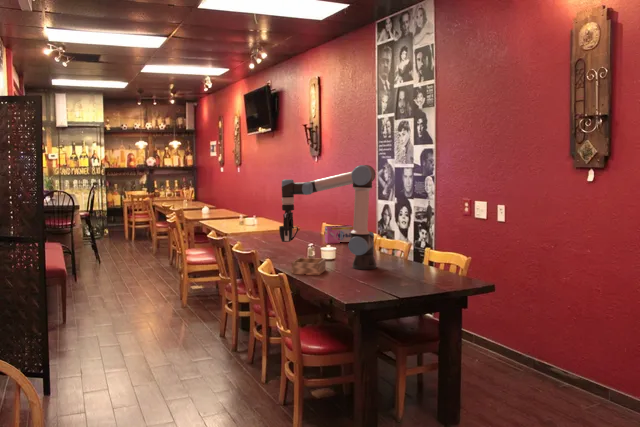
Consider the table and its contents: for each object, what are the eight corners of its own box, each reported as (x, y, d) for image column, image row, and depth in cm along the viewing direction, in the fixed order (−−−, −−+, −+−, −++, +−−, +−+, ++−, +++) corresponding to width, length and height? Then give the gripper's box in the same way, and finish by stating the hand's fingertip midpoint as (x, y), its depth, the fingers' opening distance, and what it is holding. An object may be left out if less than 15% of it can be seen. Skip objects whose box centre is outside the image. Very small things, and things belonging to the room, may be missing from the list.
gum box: (352, 241, 492) (352, 225, 490) (355, 242, 484) (355, 226, 483) (324, 242, 485) (324, 226, 484) (327, 243, 477) (327, 227, 476)
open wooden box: (325, 269, 366) (325, 258, 365) (319, 275, 349) (319, 263, 349) (299, 268, 370) (298, 257, 369) (291, 274, 353) (291, 262, 352)
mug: (299, 241, 370) (299, 226, 369) (280, 242, 367) (280, 227, 366) (297, 239, 378) (296, 225, 377) (278, 240, 375) (278, 225, 374)
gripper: (286, 202, 381) (287, 237, 383) (277, 205, 361) (278, 242, 363) (298, 202, 379) (298, 237, 381) (289, 205, 359) (289, 242, 361)
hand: (288, 240), depth 372 cm, fingers closed on mug, 8 cm apart
